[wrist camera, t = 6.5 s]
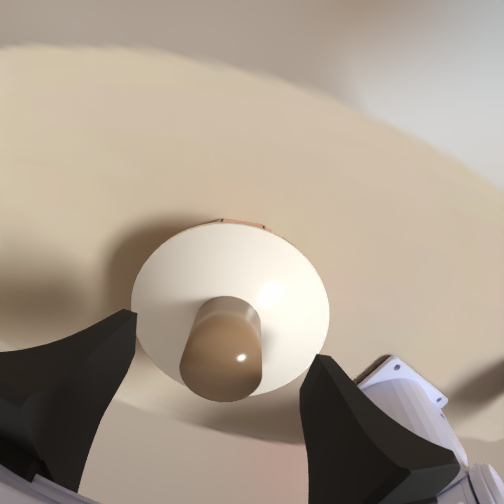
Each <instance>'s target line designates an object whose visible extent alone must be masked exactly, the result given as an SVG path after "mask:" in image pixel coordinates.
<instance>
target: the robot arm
mask: <svg viewBox="0 0 504 504" xmlns="http://www.w3.org/2000/svg"><path fill="white" fill-rule="evenodd" d="M137 315H138V313H136V312H132V311H129V310H126V309H122V310H120V311H118V312H117V313H115V314H113V315H111V316H109V317H108V318H106V319H104V320H102V321H100V322H98V323H96V324H94V325H93V326H91V327H89V328H87V329H84V330H82V331H80V332H78V333H76V334H73V335H71V336H69V337H66V338H64V339H61V340H58V341H55V342H52V343H49V344H45V345H41V346H37V347H33V348H28V349H23V350H16V351H8V352H0V504H102V503H99V502H97V501H94V500H91V499H89V498H87V497H84V496H82V495H79V494H77V493H78V488H79V485H80V481H81V477H82V473H83V470H84V467H85V463H86V460H87V457H88V454H89V450H90V448H91V445H92V442H93V439H94V436H95V434H96V431H97V429H98V426H99V424H100V421H101V419H102V417H103V415H104V412H105V411H106V409H107V407H108V405H109V404H110V402H111V400H112V398H113V397H114V395H115V393H116V391H117V390H118V388H119V386H120V384H121V383H122V381H123V379H124V377H125V375H126V374H127V372H128V369H129V367H130V364H131V362H132V359H133V357H134V354H135V343H136V327H137ZM396 365H397V366H396ZM395 366H396V367H395ZM447 403H448V398H447V397H446V396H445V395H444V394H442V393H441V392H440V391H439V390H437V389H436V388H435V387H434V386H433V385H431V384H430V383H429V382H428V381H426V380H425V379H424V378H423V377H421V376H420V375H419V374H418V373H417V372H415V371H414V370H413V369H412V368H410V367H409V366H408V365H407V364H405V363H404V362H403V361H402V360H400V359H399V358H398V357H397V356H391V357H389V358H388V359H387V360H385V361H384V362H383V363H382V364H381V365H380V366H379V367H378V368H377V369H375V370H374V371H373V372H372V373H371V374H370V375H369V376H367V377H366V378H365V379H364V380H363V381H362V382H360V383H359V384H358V385H357V386H356V384H355V383H354V382H353V381H352V380H351V379H350V378H349V377H348V375H347V374H346V373H345V372H344V371H343V370H342V368H341V367H340V366H339V365H338V364H337V363H336V362H335V361H334V360H333V359H332V358H331V357H330V356H327V355H320V354H316V355H315V358H314V360H313V362H312V364H311V366H310V369H309V371H308V373H307V375H306V377H305V379H304V382H303V384H302V386H301V388H300V414H301V420H302V426H303V432H304V438H305V444H306V450H307V457H308V474H309V500H308V504H504V484H503V482H502V481H501V479H500V477H499V476H498V475H497V473H496V472H495V470H494V469H493V468H492V466H491V465H489V464H481V463H475V464H474V465H473V466H471V467H468V466H467V456H466V453H465V451H464V449H463V447H462V446H461V444H460V442H459V440H458V438H457V437H456V435H455V433H454V431H453V430H452V428H451V426H450V424H449V423H448V421H447V419H446V417H445V416H444V414H443V412H442V411H441V408H443V407H444V406H445V405H446V404H447Z"/></svg>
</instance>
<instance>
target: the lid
mask: <svg viewBox="0 0 504 504" xmlns="http://www.w3.org/2000/svg"><path fill="white" fill-rule="evenodd" d="M131 311H132V312H136V313H138V315H137V327H136V335H137V338H138V340H139V342H140V344H141V346H142V348H143V349H144V351H145V352H146V354H147V355H148V356H149V358H150V359H151V360H152V361H153V362H154V363H155V365H156V366H157V367H158V368H160V369H161V370H162V371H163V372H164V373H165V374H167V375H168V376H169V377H171V378H172V379H174V380H175V381H177V382H179V383H181V384H182V385H184V386H186V387H188V388H189V389H190V390H191V391H193V392H194V393H195V394H197V395H199V396H201V397H203V398H205V399H208V400H212V401H217V402H232V401H237V400H241V399H243V398H246V397H247V396H254V395H259V394H263V393H266V392H269V391H273V390H275V389H277V388H279V387H282V386H284V385H285V384H287V383H289V382H291V381H292V380H294V379H295V378H296V377H298V376H299V375H300V374H301V373H303V372H304V371H305V370H306V369H307V368H308V367H309V366H310V364H311V363H312V362H313V360H314V358H315V355H316V354H318V353H319V351H320V350H321V348H322V346H323V343H324V341H325V338H326V334H327V330H328V325H329V304H328V299H327V295H326V291H325V289H324V286H323V284H322V281H321V279H320V277H319V275H318V273H317V272H316V270H315V268H314V267H313V265H312V264H311V262H310V261H309V260H308V259H307V257H306V256H305V255H304V254H303V253H302V252H301V251H300V250H299V249H298V248H297V247H296V246H295V245H293V244H292V243H290V242H289V241H288V240H286V239H285V238H283V237H281V236H279V235H278V234H276V233H274V232H272V231H269V230H267V229H264V228H261V227H259V226H255V225H250V224H246V223H238V222H213V223H207V224H201V225H198V226H195V227H192V228H188V229H186V230H184V231H182V232H180V233H178V234H176V235H174V236H173V237H171V238H170V239H168V240H167V241H165V242H164V243H163V244H162V245H161V246H160V247H159V248H157V249H156V250H155V251H154V252H153V253H152V254H151V256H150V257H149V258H148V259H147V261H146V262H145V263H144V265H143V266H142V268H141V270H140V272H139V273H138V275H137V278H136V281H135V283H134V286H133V291H132V296H131Z"/></svg>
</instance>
